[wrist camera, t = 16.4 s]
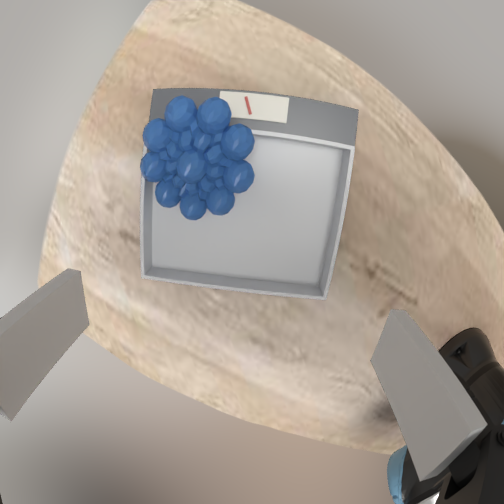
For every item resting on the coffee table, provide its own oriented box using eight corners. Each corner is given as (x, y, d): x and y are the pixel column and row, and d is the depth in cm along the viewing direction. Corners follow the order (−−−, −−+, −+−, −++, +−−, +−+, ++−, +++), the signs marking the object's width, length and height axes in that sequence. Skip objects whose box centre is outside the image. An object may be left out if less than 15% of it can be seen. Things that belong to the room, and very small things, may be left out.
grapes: (284, 175, 27) (236, 67, 20) (279, 215, 23) (214, 79, 15) (190, 203, 32) (137, 117, 25) (169, 242, 27) (100, 144, 20)
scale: (350, 113, 28) (369, 105, 22) (322, 281, 35) (333, 304, 29) (162, 94, 27) (142, 82, 22) (152, 261, 34) (133, 280, 29)
